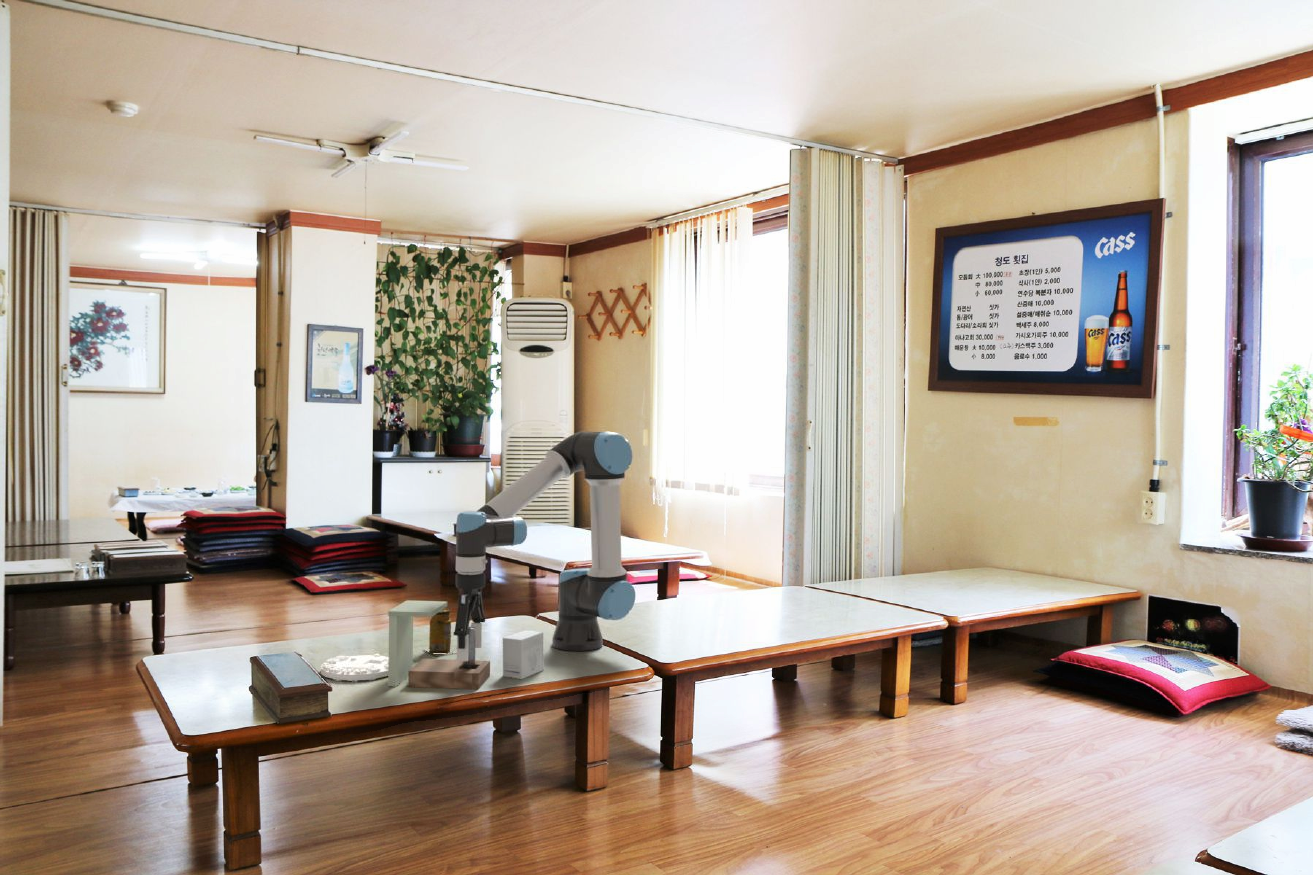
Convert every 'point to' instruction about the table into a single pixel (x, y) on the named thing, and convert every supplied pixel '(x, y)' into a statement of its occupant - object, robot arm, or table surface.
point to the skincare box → (523, 654)
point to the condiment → (440, 633)
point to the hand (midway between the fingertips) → (469, 654)
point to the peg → (470, 649)
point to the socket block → (448, 674)
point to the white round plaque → (356, 667)
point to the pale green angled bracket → (405, 635)
